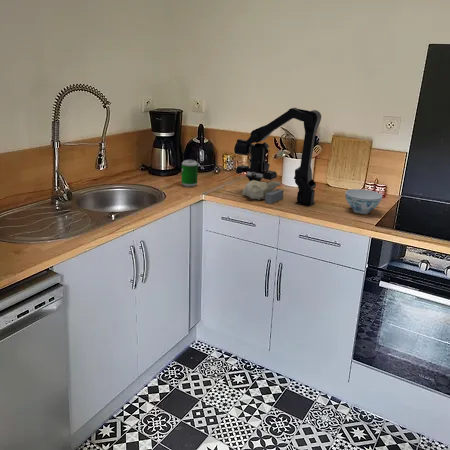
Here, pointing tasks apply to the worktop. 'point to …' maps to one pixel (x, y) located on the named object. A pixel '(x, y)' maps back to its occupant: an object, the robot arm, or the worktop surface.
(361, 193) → the chinaware
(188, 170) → the soda can
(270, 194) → the bar
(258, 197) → the grey lumpy stone
